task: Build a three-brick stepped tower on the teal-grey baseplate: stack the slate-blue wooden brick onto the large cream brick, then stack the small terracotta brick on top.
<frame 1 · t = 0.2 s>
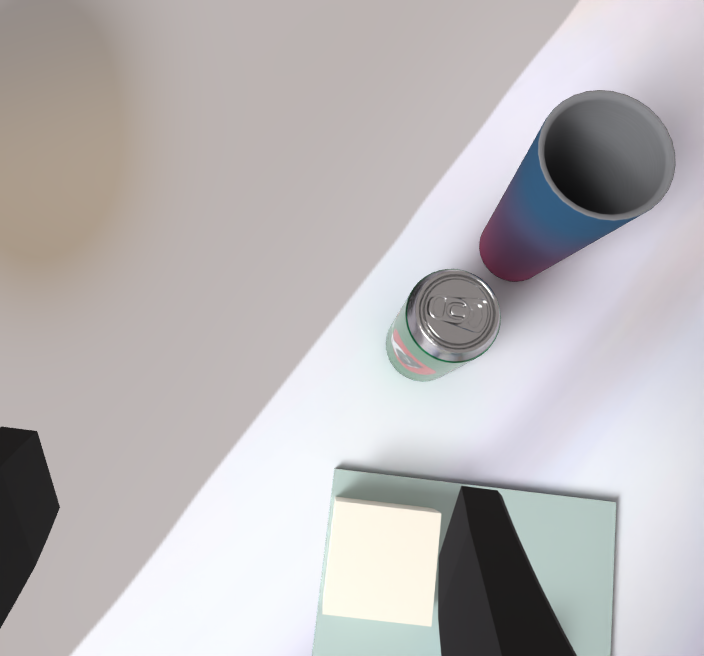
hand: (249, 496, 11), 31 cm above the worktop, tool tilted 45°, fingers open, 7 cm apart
soda can: (420, 346, 43), on the worktop
cup: (512, 249, 45), on the worktop
brick A: (378, 553, 40), point 1 cm above the worktop, touching baseplate
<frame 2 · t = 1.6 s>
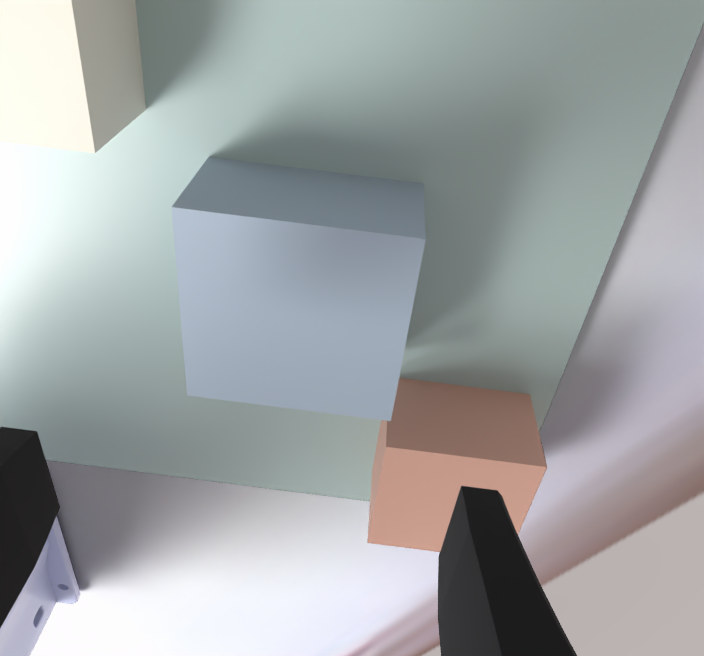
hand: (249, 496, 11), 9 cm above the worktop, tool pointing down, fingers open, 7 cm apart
brick C: (445, 434, 21), point 1 cm above the worktop, touching baseplate
baseplate: (261, 215, 17), on the worktop
brick B: (309, 263, 17), point 1 cm above the worktop, touching baseplate
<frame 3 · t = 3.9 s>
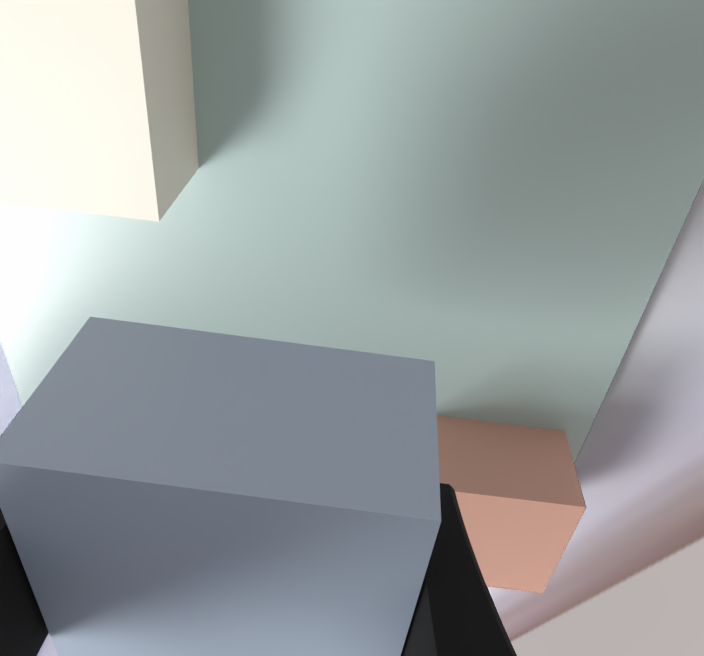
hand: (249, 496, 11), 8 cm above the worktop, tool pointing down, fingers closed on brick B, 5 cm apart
brick C: (480, 468, 21), point 1 cm above the worktop, touching baseplate
baseplate: (305, 263, 17), on the worktop
brick B: (260, 456, 11), point 8 cm above the worktop, touching gripper
brick A: (44, 11, 14), point 1 cm above the worktop, touching baseplate
when the fingers open (5 cm above the worktop, at t = 5.5 s): brick B stays where it is, resting on brick A.
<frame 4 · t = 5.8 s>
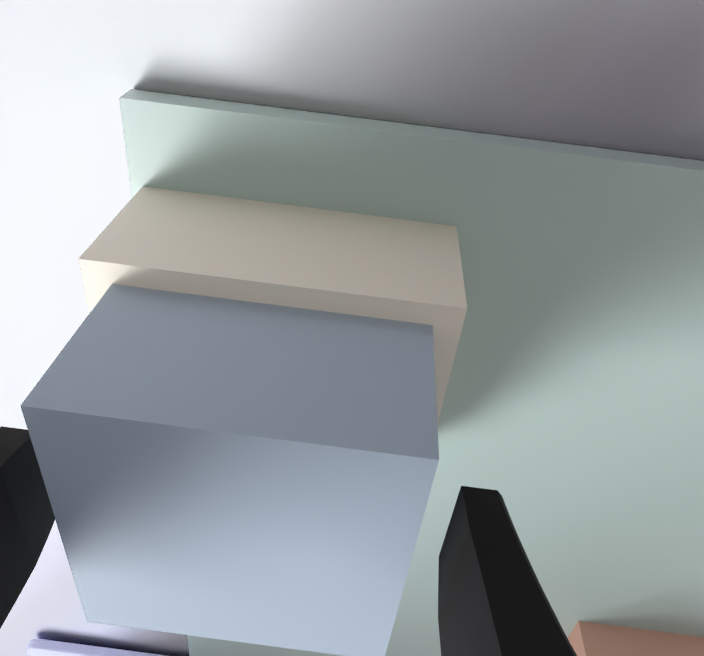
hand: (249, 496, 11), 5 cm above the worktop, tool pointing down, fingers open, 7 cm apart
baseplate: (484, 502, 18), on the worktop
brick B: (268, 419, 12), point 4 cm above the worktop, touching brick A
brick A: (292, 332, 14), point 1 cm above the worktop, touching baseplate, brick B
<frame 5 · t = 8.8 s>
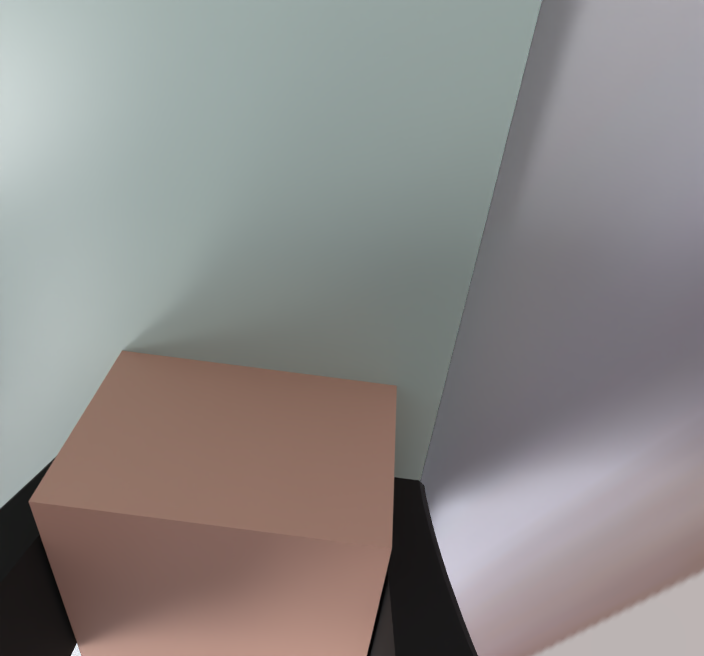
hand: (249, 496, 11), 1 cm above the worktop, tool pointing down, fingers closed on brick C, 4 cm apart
brick C: (258, 460, 11), point 1 cm above the worktop, touching baseplate, gripper
when the fingers open (8 cm above the worktop, at t = 11.8 s): brick C stays where it is, resting on brick B.
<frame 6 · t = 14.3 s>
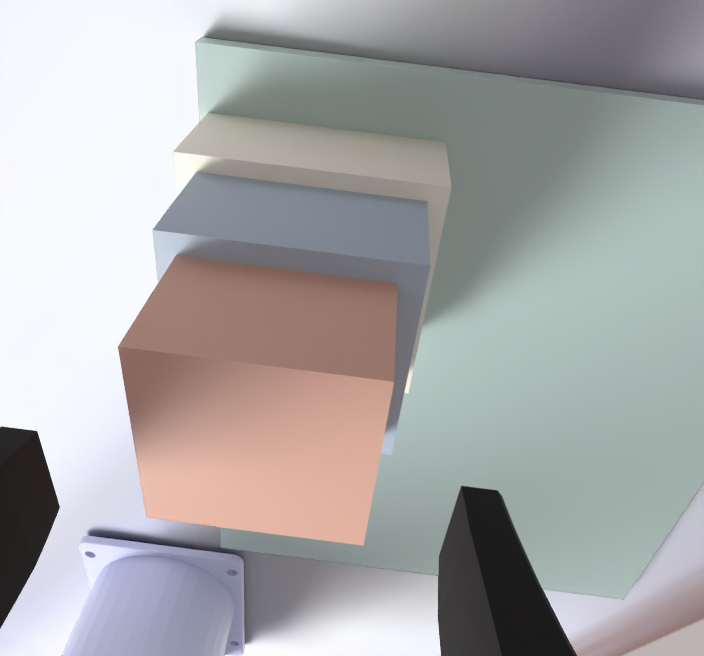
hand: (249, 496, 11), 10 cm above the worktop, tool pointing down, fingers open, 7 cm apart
brick C: (283, 355, 14), point 7 cm above the worktop, touching brick B
baseplate: (471, 391, 22), on the worktop
brick B: (305, 284, 16), point 4 cm above the worktop, touching brick A, brick C
brick A: (318, 234, 18), point 1 cm above the worktop, touching baseplate, brick B
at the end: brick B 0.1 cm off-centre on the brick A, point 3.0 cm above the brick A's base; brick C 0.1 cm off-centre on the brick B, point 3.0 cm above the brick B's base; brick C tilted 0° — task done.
